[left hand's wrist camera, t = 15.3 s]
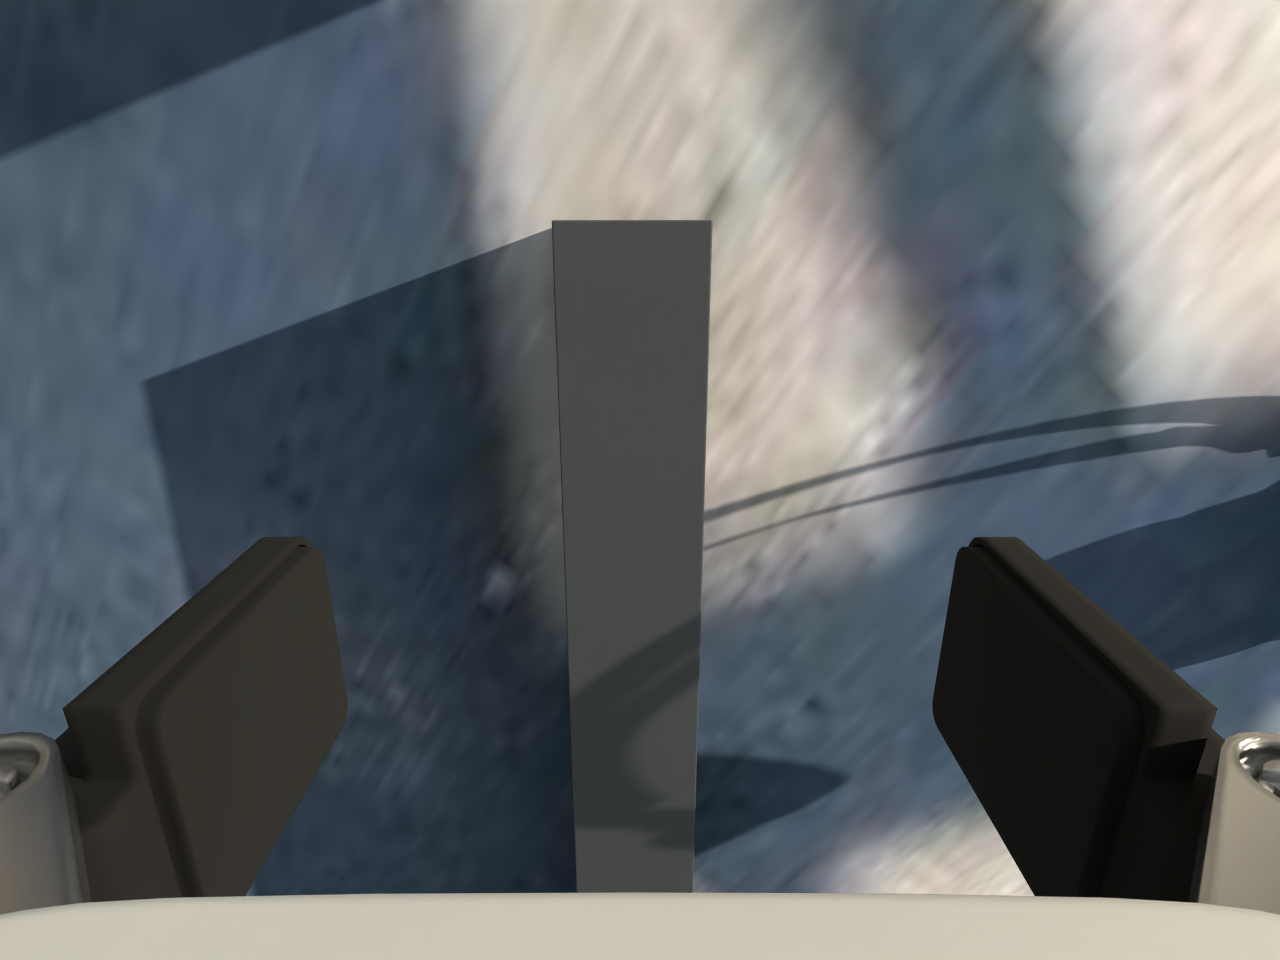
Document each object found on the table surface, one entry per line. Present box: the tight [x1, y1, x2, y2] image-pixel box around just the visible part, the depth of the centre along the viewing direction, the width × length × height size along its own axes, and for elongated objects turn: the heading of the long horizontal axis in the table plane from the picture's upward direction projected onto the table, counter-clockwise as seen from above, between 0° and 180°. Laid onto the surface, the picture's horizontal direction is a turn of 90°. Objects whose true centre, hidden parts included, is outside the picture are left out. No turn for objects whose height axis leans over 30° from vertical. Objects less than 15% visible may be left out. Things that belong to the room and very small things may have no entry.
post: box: [552, 220, 712, 893], centre depth 42 cm, size 75×6×6 cm, turn 0°
